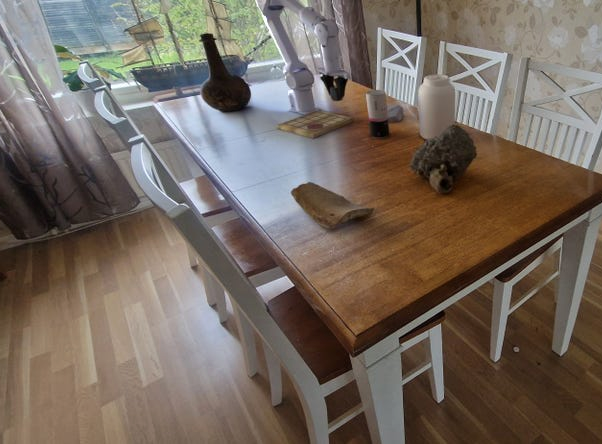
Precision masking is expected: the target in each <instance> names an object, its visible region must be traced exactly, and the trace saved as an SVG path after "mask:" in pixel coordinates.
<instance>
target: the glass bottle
mask: <svg viewBox="0 0 602 444" xmlns="http://www.w3.org/2000/svg"><path fill="white" fill-rule="evenodd" d="M199 37H200V38H199V39H198V41H199V42H200V43H202V47H203V50H204V54H205V58H206V62H207V66H208V75H209V76H208V78H207V79H205V80H204V81H203V82H202V84H201V85H200V89H199V93H200V94H199V95H200V96H201V99H202V100H203V102H204V103H205V104H207V105H208V106H210V108H212V109H214V110H216V111H221V112H232V111H237V110H241V109H244V108H245V107H246V106H247V105H248V104H249V103H250V101H251V99H252V91H251V88H250V86H249V84H248V83H247V82H246V81H245V79H244V78H242V77H241V76H239V75H236V74H231V73H230V72H229V71H228V69H227V66H226V65H225V63H224V61H223V58H222V55H221V54H220V50H219V48H218V45H217V44H216V41H217V40H218V39H217V38H215V37H214V34H213V33H210V32H208V33H207V32H206V33H200V34H199Z"/></svg>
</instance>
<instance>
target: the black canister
mask: <svg viewBox="0 0 602 444" xmlns="http://www.w3.org/2000/svg"><path fill="white" fill-rule="evenodd" d="M330 95H331V96H330ZM330 95H329V96H330V99H331V100H332V101H333V102H341V101H343V99H344V97H342V98H340V97H339V94H338V89H337V86H336V84H334V85H333V86H330Z"/></svg>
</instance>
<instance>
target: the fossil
mask: <svg viewBox="0 0 602 444" xmlns="http://www.w3.org/2000/svg"><path fill="white" fill-rule="evenodd" d="M290 194H291V197H292V198H293V200H294V201H295V202H296V204H297V205H298V206H299V207H300V208H301V210H302V211H303V212H304V213H306V215H307V216H308V217H310V218H311V220H313V221H314V222H315V223H316V224H317V225H320V226H321V227H324V228H326V229H329V230H333V229H335V228H337V227H339V226H340V225H342V224H344V223H346V222H347V221H349V220H353V219H356V218H360V217H368V216H373V212H374V211H375V208H374V207H367V206H362V205H358V204H355V203H353V202H351V201H350V200H348V199H347V198H346V197H344V196H343V195H340V194H338V193H336V192H333V191H332V190H329V189H327V188H325V187H323V186H321V185H319V184H316V183H315V182H312V181H308V182H306V183H301V184H299V185H298V186H297V187H294V188H293V189H292V190H291V191H290Z"/></svg>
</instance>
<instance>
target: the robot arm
mask: <svg viewBox="0 0 602 444" xmlns="http://www.w3.org/2000/svg"><path fill="white" fill-rule="evenodd" d="M254 1H255V3H256V6H257V7H258V9H259V12H260V13H261V16H262V18H263V21H264V23H265V25H266V27H267V29H268V31H269V33H270V36H271V37H272V39H273V41H274V43H275V46H276V48H277V50H278V51H279V54H280V56H281V58H282V60H283V62H284V64H285V67H284V69H283V76H284V78H285V82H286V85H287V87H288V88H289V89H288V93H287V95H288V101H289V105H290V109H289V111H290V112H293V113H297V114H301V115H306V114H309V113H312V112H314V111H317V110H320V111H321V108H320V107H316V105H315V100H314V99H315V98H314V94H313V89H312V88H313V85H314V83H315V76H314V74H313V72H312V71H311V70H310V69H309V67H308V65H307V64H306V63H305V62H303V61H301V60H300V58H299V56H298V54H297V52H296V49H295V48H294V45H293V44H292V41H291V39H290V37H289V35H288V32H287V31H286V29H285V26H284V24H283V22H282V20H281V14H282V13H283V11H284V9H285V8H286V9H288V10H289V11H291V12H292V13H294V14H296V15H297V16H299V19H300V21H301V23H302V24H303V25H305V26H307V27H308V28H310V29H311V30H312V31H313V32H314V34H315V36H316V38H317V40H318V44H319V45H320V49H321V50H320V51H321V56H322V60H323V67H319V68H316V72H317V75H322V76H319V79H320V80H321V82H322V83H323V84H324V86H325V89H326V91H327V93H328V96H330V97H331V95H330V86H333V85H336V86H337V89H338V94H339V97H340V98H342V97H343V98H344V97H345V93H346V87H347V83H348V81H349V79H351V72H350V71H349V72H348V71H345V70H343V69H342V68H341V61H340V54H339V53H340V52H339V48H338V40H337V38H338V36H339V33H340V30H339V25H338V24H337V22H336V21H335V20H334V19H333V18H331V19H329V18H328V19H327V18H326V17H325V16H324V15H321V13H319V12H317V11H316V10H315V8H314V7H313V6H304V5H303V4H302V3H300V2H299V1H298V0H254Z"/></svg>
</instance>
